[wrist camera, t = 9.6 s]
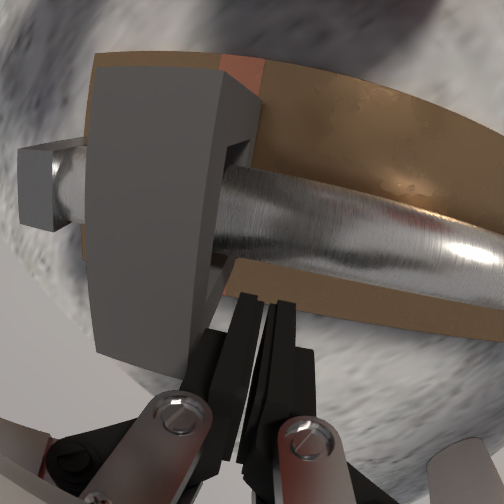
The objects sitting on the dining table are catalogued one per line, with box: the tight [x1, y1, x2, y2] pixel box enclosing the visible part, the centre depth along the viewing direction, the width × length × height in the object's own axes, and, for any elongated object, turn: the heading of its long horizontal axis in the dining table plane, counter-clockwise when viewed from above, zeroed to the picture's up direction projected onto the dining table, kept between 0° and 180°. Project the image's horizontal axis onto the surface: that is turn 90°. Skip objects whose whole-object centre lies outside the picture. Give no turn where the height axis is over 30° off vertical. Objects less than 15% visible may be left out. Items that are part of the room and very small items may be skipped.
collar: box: [85, 66, 263, 380], centre depth 11 cm, size 3×8×8 cm, turn 170°
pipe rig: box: [17, 51, 504, 342], centre depth 12 cm, size 32×12×7 cm, turn 80°
